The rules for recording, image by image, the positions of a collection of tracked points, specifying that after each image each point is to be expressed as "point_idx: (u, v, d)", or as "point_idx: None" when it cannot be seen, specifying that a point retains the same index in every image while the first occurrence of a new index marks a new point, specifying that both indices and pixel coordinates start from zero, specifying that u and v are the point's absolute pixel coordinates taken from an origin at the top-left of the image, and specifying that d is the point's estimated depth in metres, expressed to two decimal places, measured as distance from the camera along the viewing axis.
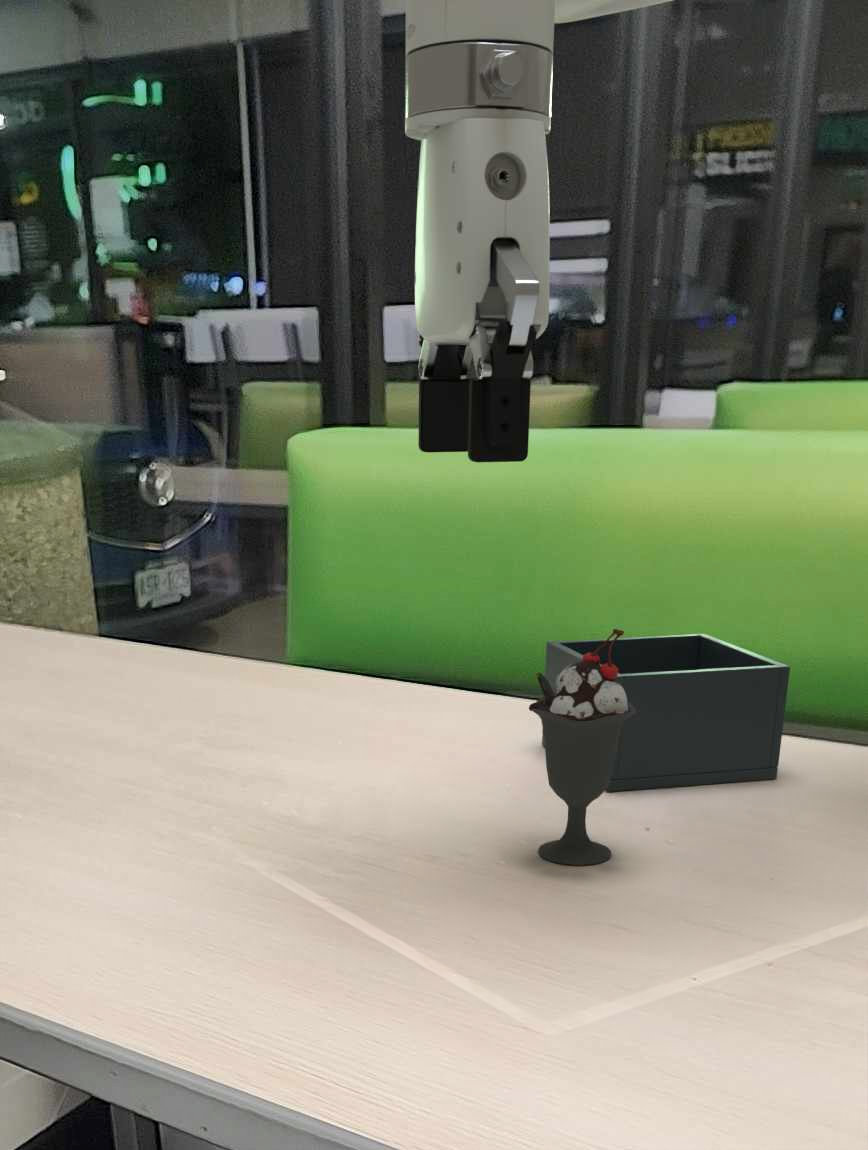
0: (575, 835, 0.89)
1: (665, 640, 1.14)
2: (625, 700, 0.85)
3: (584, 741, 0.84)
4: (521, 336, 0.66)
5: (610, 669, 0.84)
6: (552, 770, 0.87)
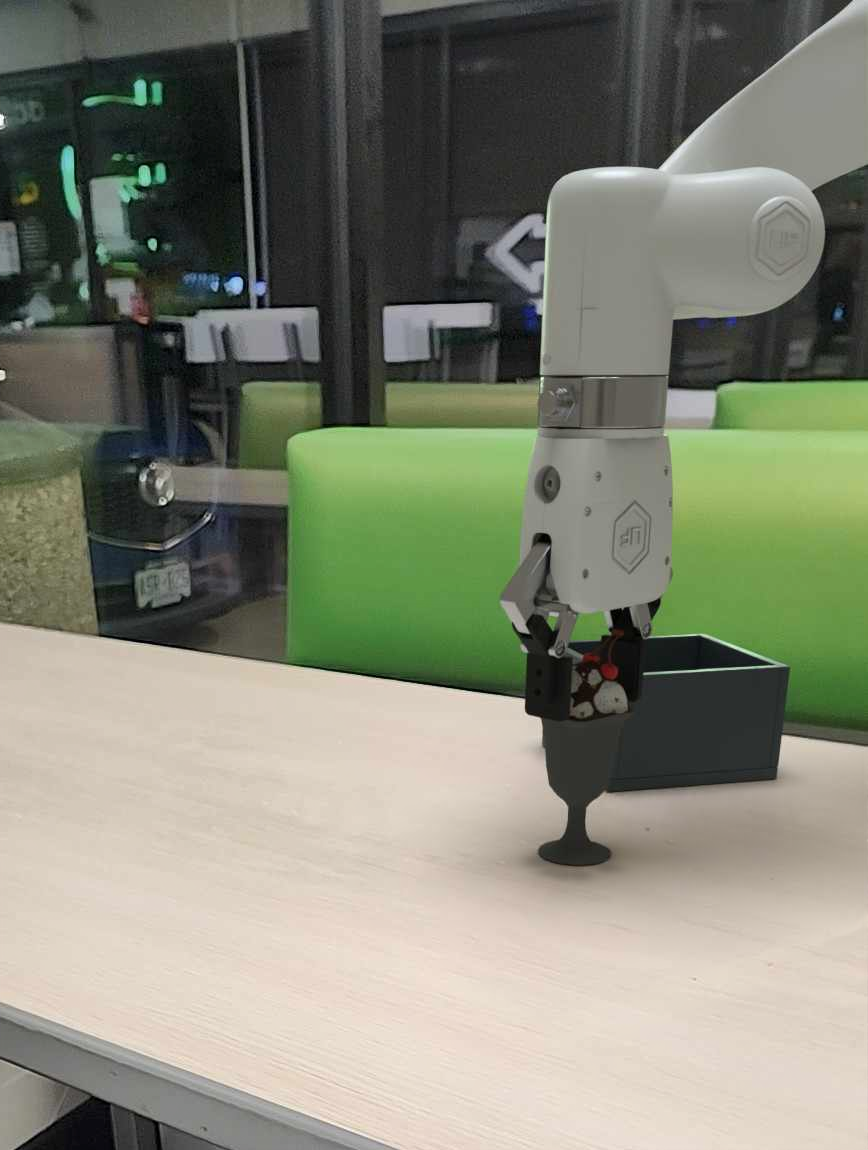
0: (575, 835, 0.89)
1: (665, 640, 1.14)
2: (625, 700, 0.85)
3: (584, 741, 0.84)
4: (523, 629, 0.79)
5: (610, 669, 0.84)
6: (552, 770, 0.87)
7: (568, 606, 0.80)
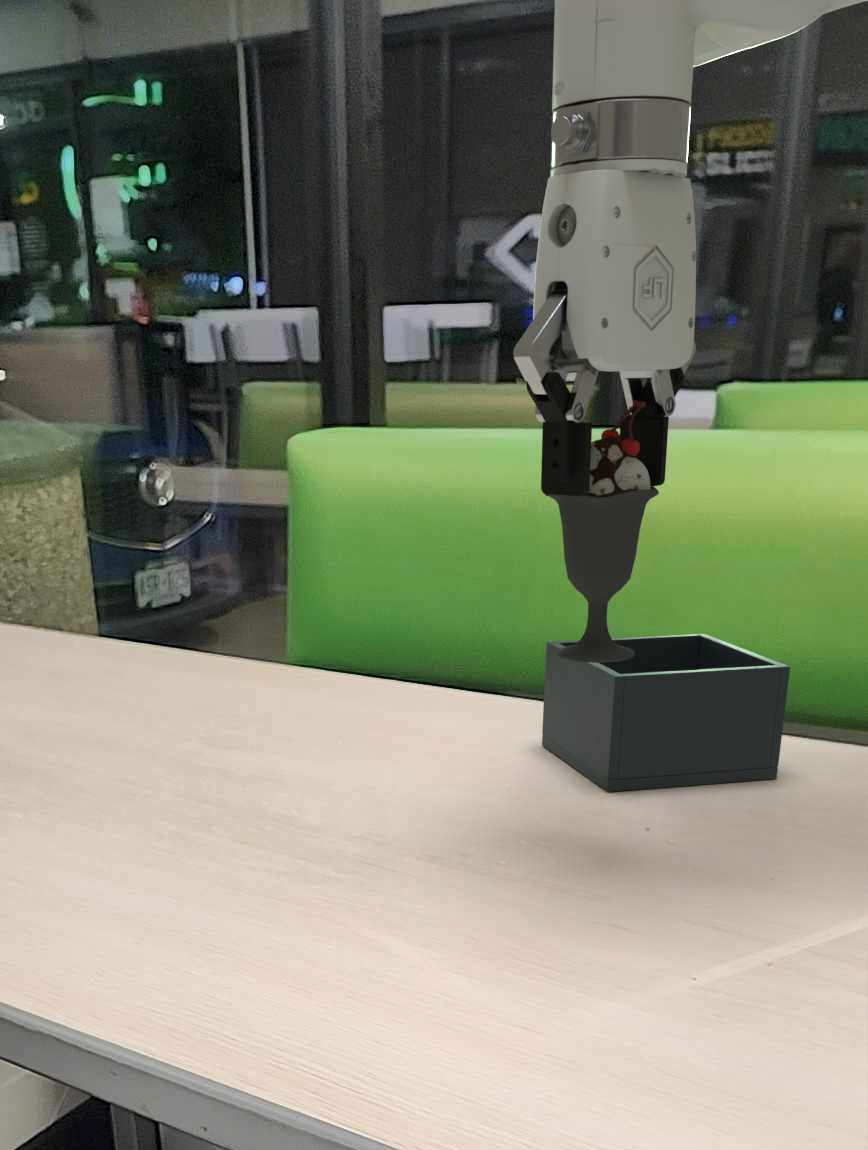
0: (596, 633, 0.84)
1: (665, 640, 1.14)
2: (648, 478, 0.79)
3: (604, 522, 0.79)
4: (539, 388, 0.74)
5: (631, 444, 0.79)
6: (571, 559, 0.81)
7: (586, 364, 0.75)
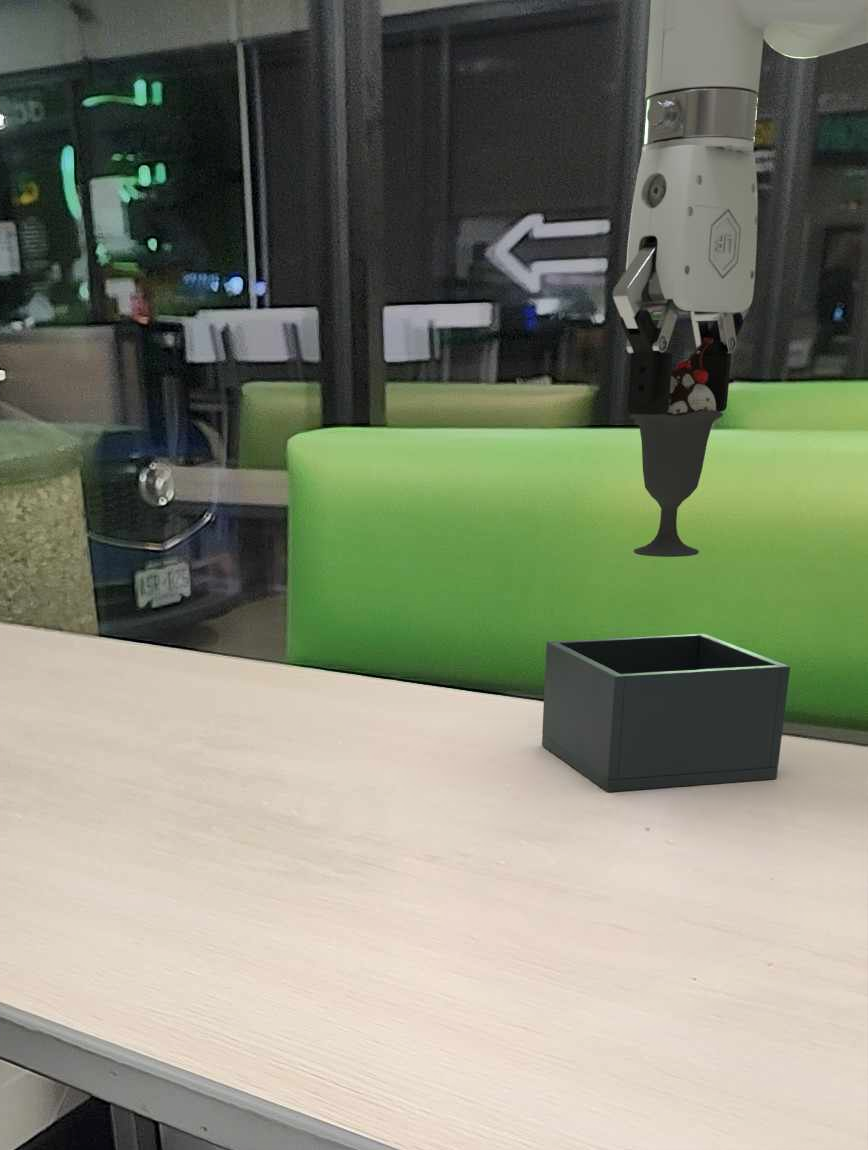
0: (667, 533, 1.01)
1: (665, 640, 1.14)
2: (714, 402, 0.97)
3: (679, 437, 0.96)
4: (632, 323, 0.91)
5: (701, 373, 0.96)
6: (649, 469, 0.98)
7: (670, 304, 0.92)
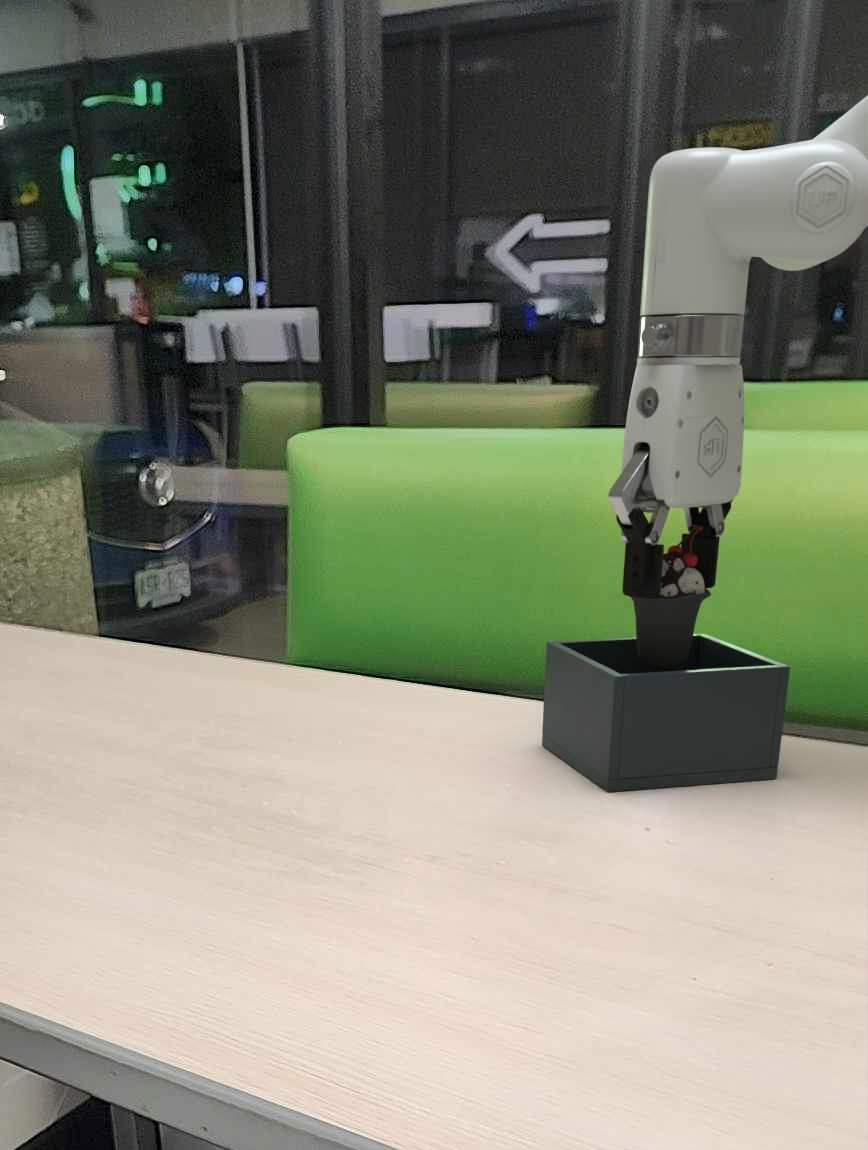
0: None
1: None
2: (703, 583, 1.04)
3: (670, 617, 1.04)
4: (626, 520, 0.99)
5: (691, 558, 1.04)
6: (642, 643, 1.06)
7: (661, 502, 0.99)
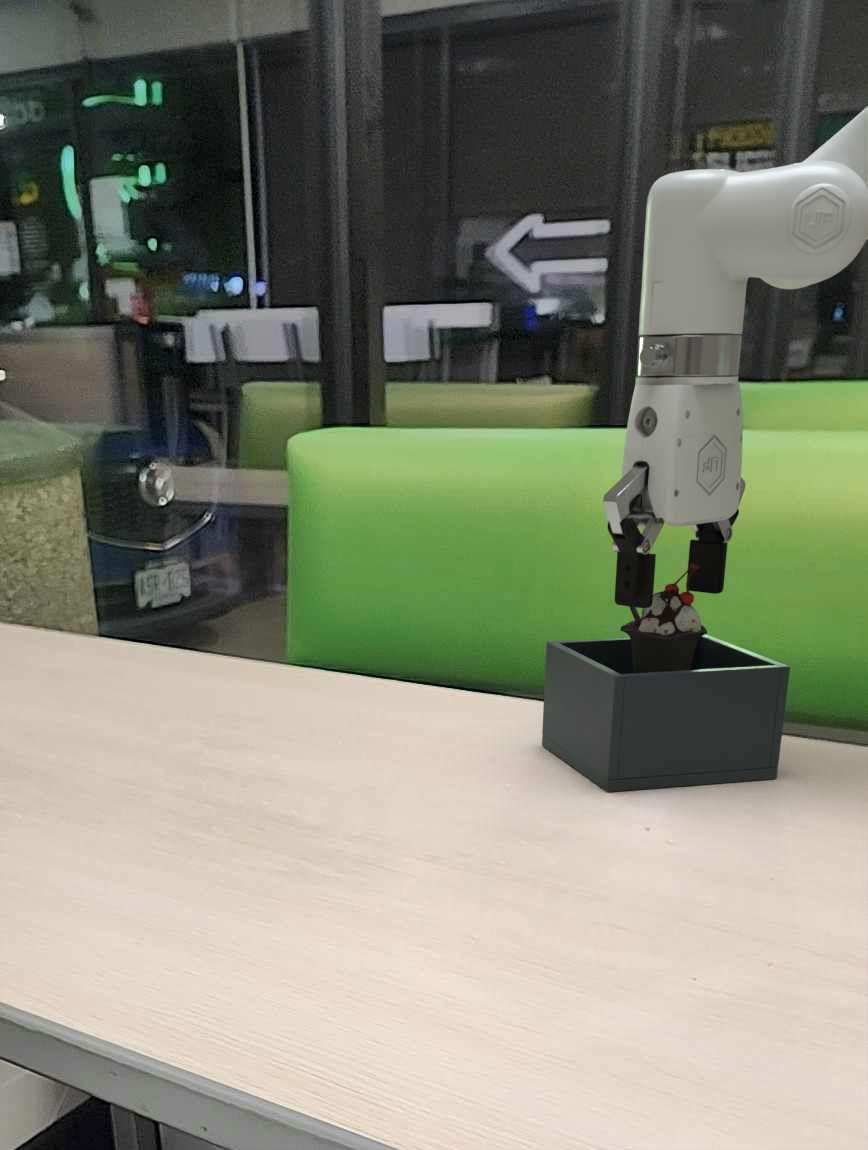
0: None
1: None
2: (699, 621, 1.05)
3: (667, 654, 1.05)
4: (617, 528, 0.98)
5: (688, 596, 1.05)
6: None
7: None
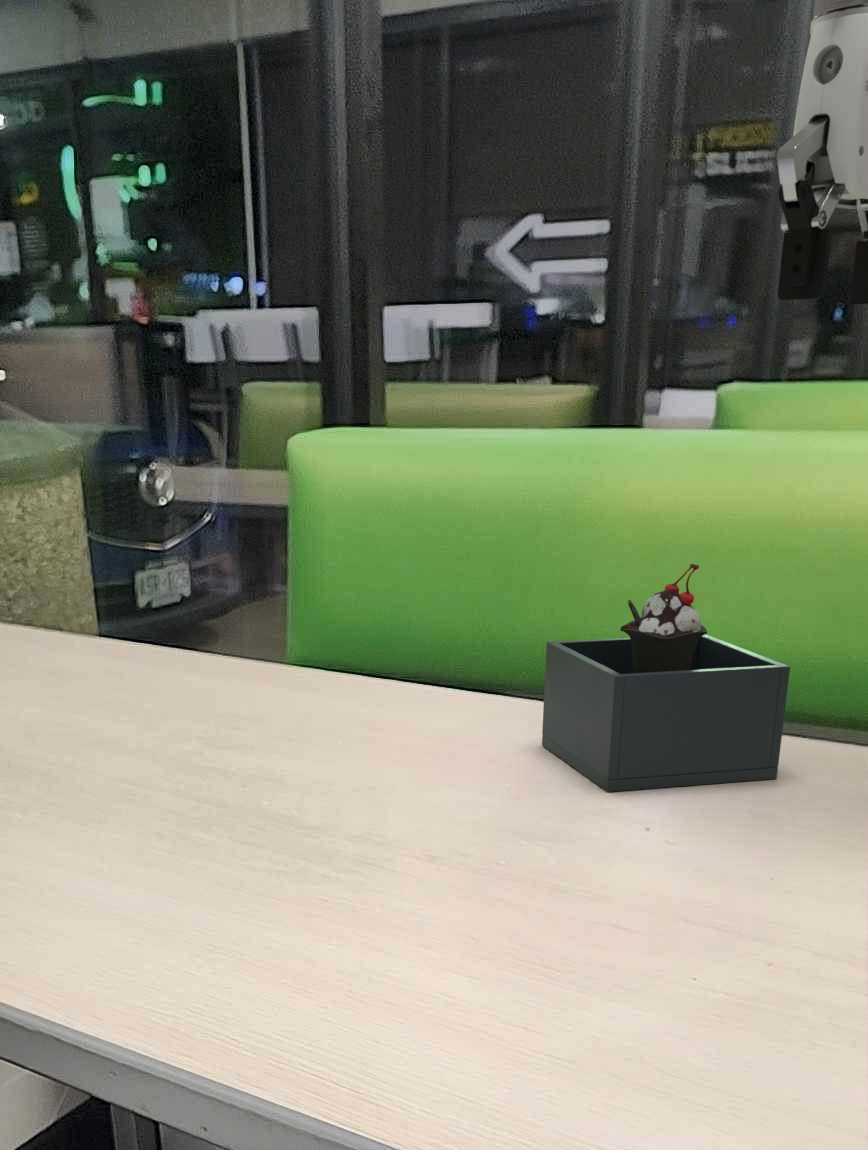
0: None
1: None
2: (699, 621, 1.05)
3: (666, 654, 1.05)
4: (791, 193, 0.84)
5: (688, 596, 1.05)
6: None
7: None
